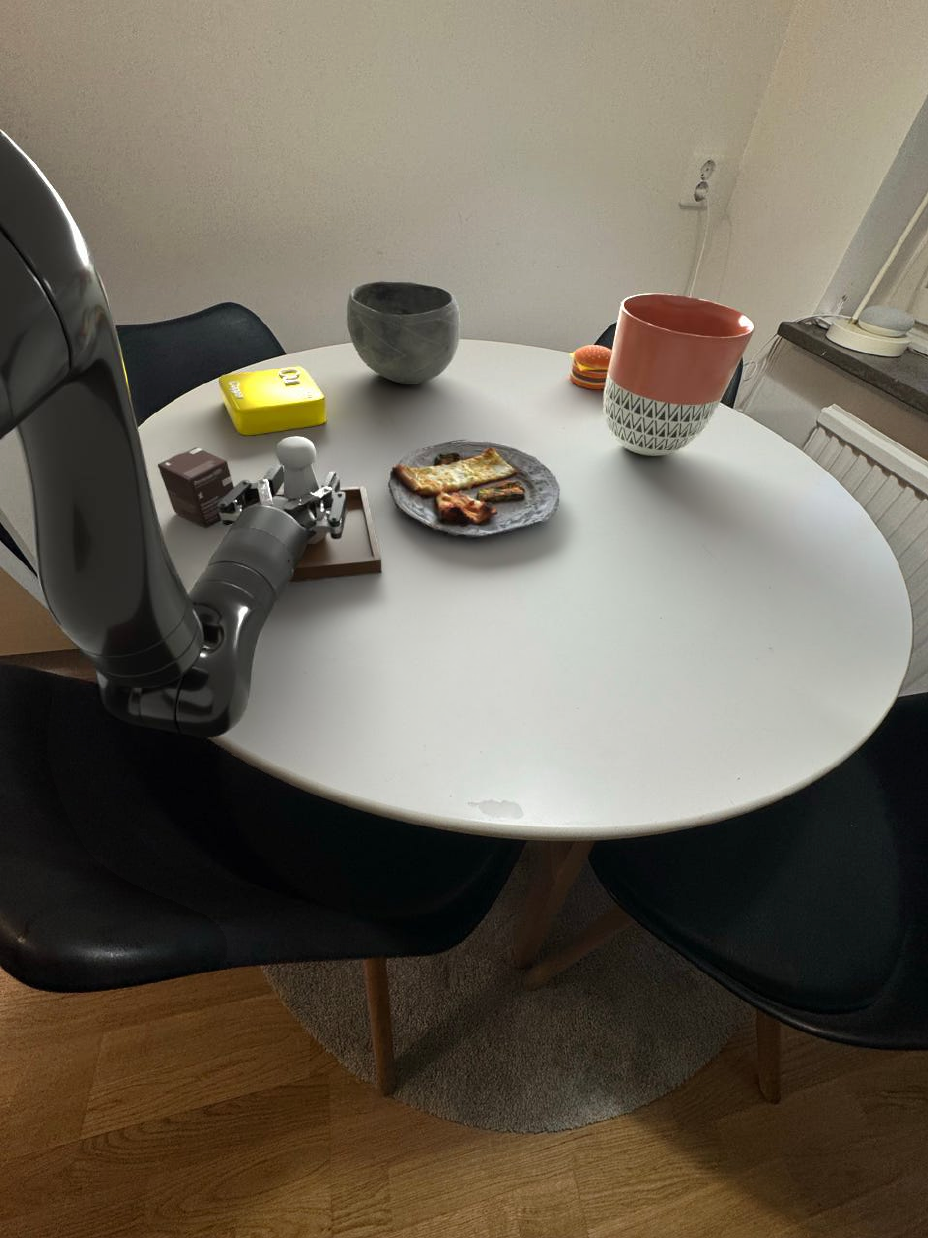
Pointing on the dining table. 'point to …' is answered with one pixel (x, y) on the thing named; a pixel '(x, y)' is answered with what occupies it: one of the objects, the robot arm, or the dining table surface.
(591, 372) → the hamburger
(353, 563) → the tray
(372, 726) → the dining table surface
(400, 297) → the bowl
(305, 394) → the element tile
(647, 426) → the planter
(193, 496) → the box
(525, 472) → the food plate
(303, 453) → the salt shaker
